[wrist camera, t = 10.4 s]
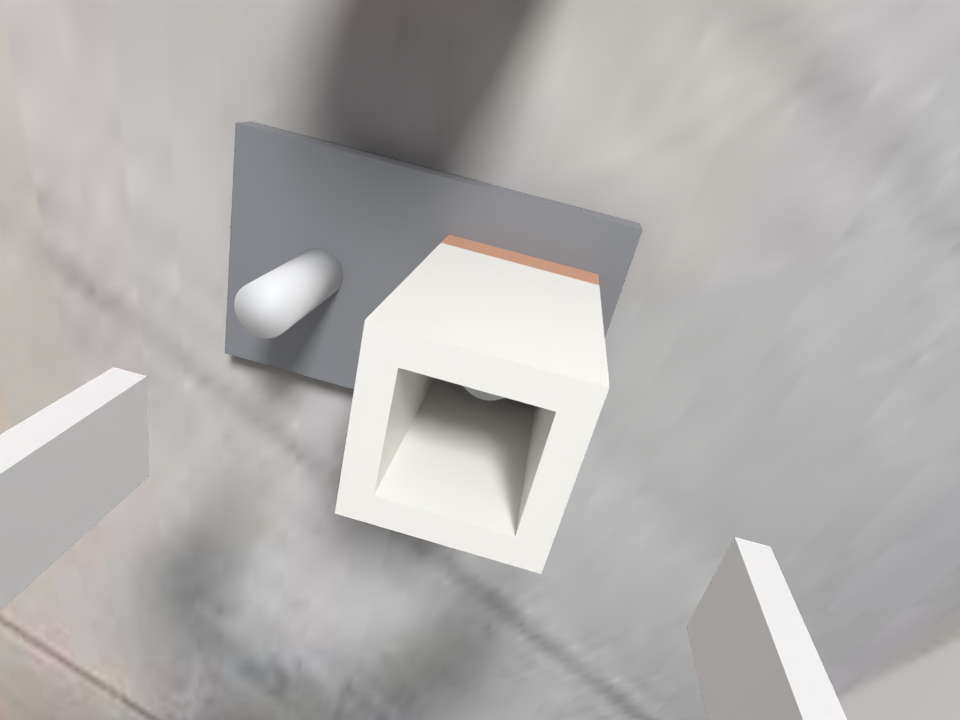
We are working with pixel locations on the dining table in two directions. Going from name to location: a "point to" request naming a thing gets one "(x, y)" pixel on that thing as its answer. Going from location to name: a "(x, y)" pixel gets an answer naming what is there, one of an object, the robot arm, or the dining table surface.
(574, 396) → the sleeve
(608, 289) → the grey board with pegs
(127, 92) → the dining table surface
